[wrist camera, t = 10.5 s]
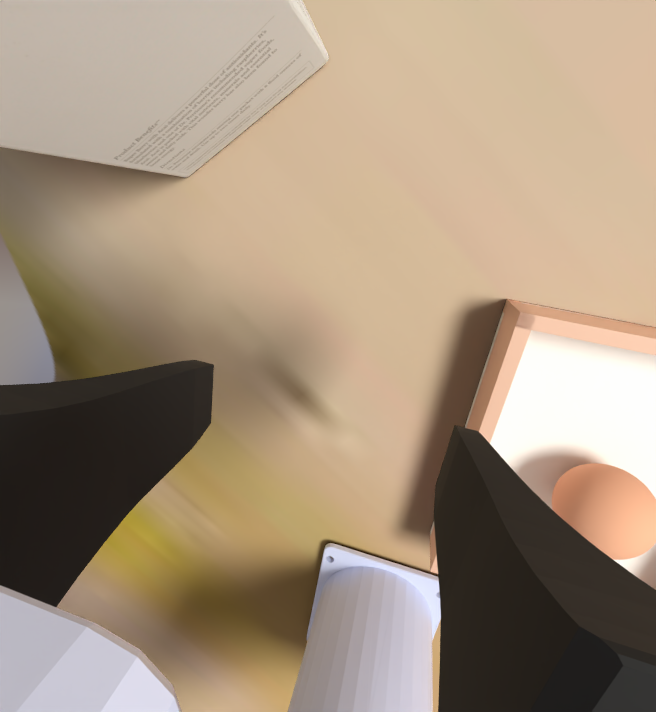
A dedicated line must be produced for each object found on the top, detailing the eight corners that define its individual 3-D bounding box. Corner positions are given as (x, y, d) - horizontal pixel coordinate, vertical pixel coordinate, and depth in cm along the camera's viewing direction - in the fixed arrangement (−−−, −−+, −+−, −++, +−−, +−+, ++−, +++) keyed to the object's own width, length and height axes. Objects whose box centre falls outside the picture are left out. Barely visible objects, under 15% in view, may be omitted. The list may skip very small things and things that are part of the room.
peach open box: (657, 600, 21) (689, 653, 18) (430, 532, 23) (430, 571, 20) (819, 358, 16) (897, 386, 13) (506, 299, 18) (520, 312, 15)
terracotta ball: (609, 522, 20) (657, 593, 16) (528, 503, 20) (556, 566, 16) (644, 457, 18) (706, 518, 14) (556, 438, 19) (594, 491, 15)
